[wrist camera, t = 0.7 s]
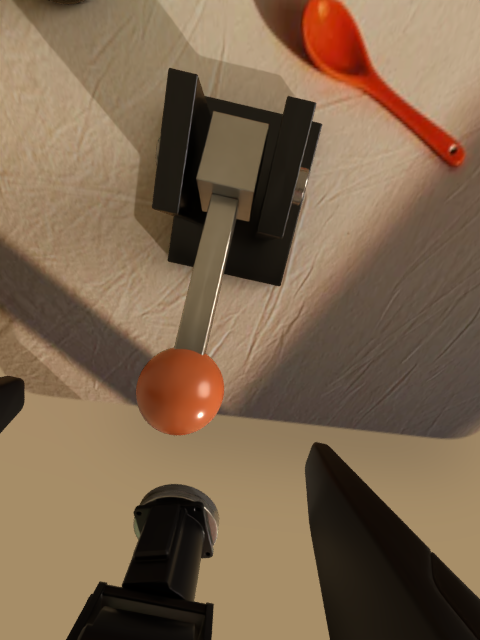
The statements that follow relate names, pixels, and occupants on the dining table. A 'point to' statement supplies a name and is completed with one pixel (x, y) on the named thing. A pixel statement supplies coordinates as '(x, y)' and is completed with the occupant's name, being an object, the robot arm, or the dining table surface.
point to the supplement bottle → (67, 1)
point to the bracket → (273, 187)
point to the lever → (205, 281)
